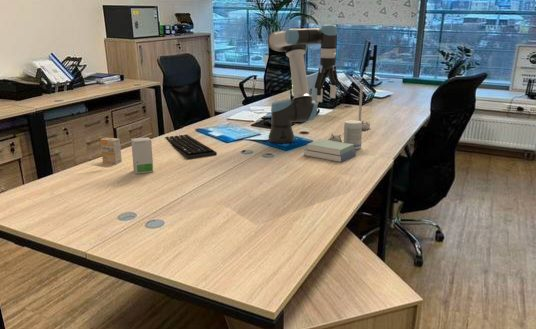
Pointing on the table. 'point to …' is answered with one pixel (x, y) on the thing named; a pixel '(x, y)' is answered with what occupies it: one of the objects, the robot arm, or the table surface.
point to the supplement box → (111, 150)
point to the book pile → (330, 150)
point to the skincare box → (142, 155)
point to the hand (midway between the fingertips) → (326, 99)
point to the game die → (335, 138)
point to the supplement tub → (353, 133)
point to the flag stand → (367, 124)
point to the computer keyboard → (190, 147)
